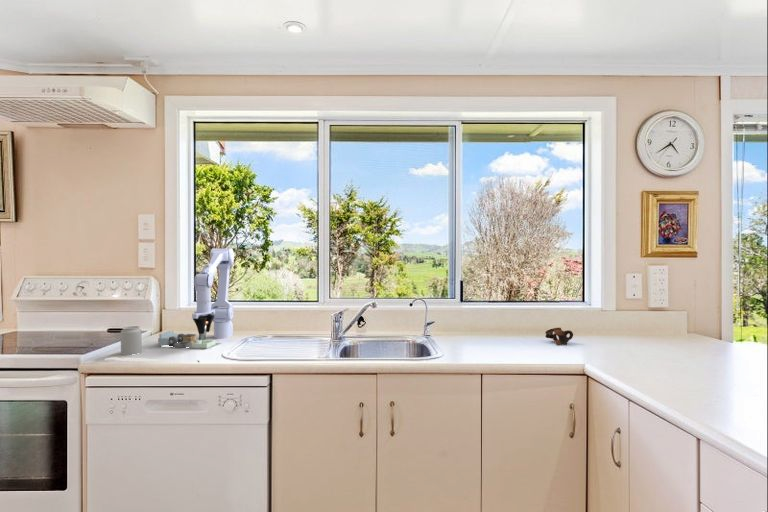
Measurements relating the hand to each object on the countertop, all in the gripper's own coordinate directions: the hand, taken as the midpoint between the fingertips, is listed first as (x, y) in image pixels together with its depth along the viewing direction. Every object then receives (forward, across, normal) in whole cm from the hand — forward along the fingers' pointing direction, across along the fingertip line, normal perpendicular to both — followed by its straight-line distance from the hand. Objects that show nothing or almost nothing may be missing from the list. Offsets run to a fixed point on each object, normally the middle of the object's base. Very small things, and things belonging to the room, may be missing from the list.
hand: (204, 332), depth 195 cm
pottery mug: (+8, -36, +155) cm, 160 cm away
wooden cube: (+6, -5, -10) cm, 13 cm away
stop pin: (+3, 0, -1) cm, 3 cm away
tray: (+6, 0, 0) cm, 6 cm away
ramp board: (+7, -2, -8) cm, 11 cm away
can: (+8, +15, -23) cm, 29 cm away
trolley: (+6, -2, -16) cm, 17 cm away
